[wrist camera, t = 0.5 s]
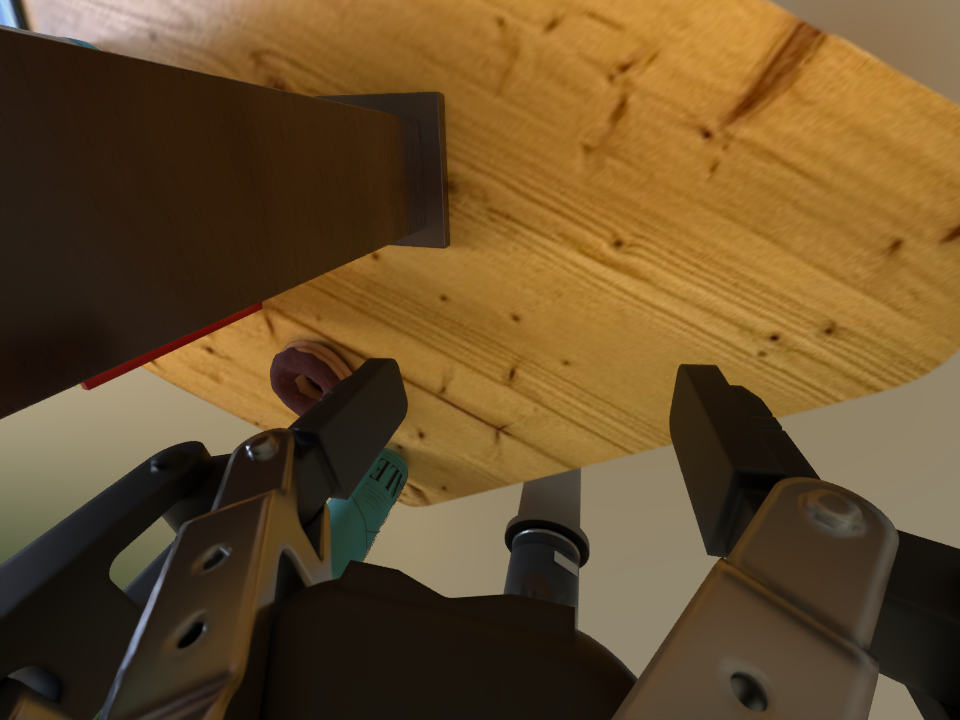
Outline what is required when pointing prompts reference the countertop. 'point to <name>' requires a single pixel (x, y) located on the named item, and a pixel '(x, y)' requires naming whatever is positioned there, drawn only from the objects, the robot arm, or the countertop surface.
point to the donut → (305, 374)
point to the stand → (184, 201)
